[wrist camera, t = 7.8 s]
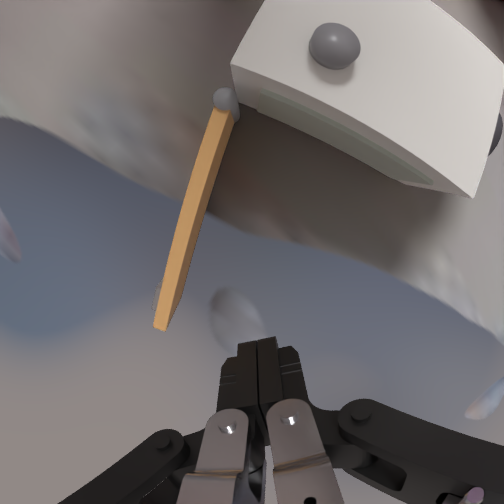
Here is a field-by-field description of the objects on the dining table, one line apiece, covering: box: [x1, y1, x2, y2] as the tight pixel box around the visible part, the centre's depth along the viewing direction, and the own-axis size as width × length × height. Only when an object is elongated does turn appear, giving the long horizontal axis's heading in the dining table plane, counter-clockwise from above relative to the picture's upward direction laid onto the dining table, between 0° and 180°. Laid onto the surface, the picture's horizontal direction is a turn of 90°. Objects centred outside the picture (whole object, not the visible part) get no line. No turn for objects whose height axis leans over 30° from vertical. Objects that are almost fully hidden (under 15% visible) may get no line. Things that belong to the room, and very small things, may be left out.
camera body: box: [230, 0, 504, 199], centre depth 14 cm, size 9×15×9 cm, turn 67°
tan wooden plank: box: [152, 87, 240, 331], centre depth 17 cm, size 2×14×5 cm, turn 162°
